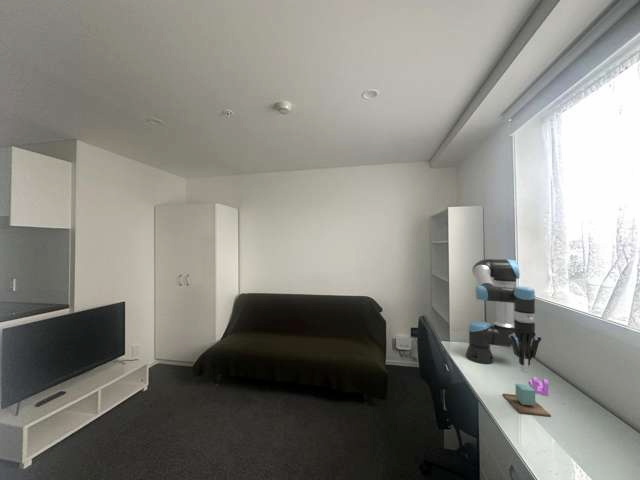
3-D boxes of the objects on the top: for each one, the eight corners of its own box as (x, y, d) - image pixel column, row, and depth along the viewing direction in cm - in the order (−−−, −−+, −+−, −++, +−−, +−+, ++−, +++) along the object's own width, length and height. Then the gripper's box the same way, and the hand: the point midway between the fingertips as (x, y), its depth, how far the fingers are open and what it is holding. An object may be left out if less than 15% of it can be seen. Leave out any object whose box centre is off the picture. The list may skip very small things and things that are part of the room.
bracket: (548, 396, 126) (548, 381, 126) (533, 392, 129) (533, 378, 129) (541, 383, 137) (541, 370, 137) (528, 380, 140) (528, 368, 140)
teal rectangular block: (515, 397, 121) (515, 383, 121) (527, 398, 120) (527, 384, 120) (522, 404, 116) (522, 389, 116) (535, 405, 115) (535, 390, 115)
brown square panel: (502, 395, 126) (502, 379, 126) (529, 397, 124) (529, 381, 124) (519, 413, 112) (519, 395, 112) (550, 416, 110) (550, 398, 110)
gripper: (513, 322, 116) (513, 374, 116) (546, 324, 114) (546, 377, 114) (504, 317, 124) (504, 366, 123) (534, 319, 121) (535, 369, 121)
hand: (524, 371), depth 119 cm, fingers closed
